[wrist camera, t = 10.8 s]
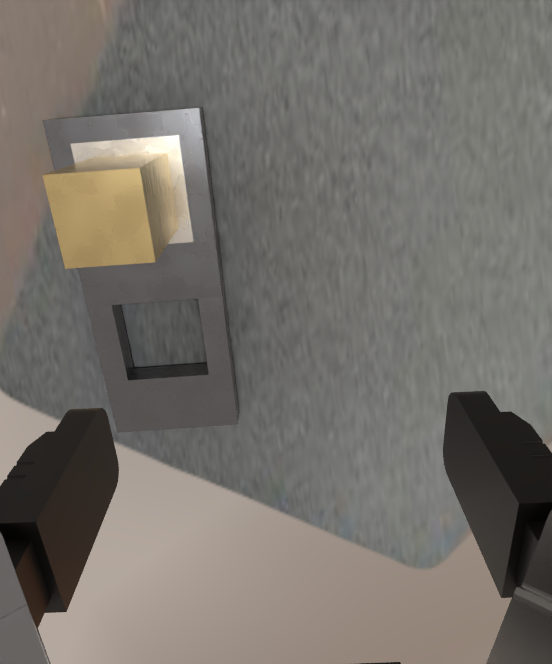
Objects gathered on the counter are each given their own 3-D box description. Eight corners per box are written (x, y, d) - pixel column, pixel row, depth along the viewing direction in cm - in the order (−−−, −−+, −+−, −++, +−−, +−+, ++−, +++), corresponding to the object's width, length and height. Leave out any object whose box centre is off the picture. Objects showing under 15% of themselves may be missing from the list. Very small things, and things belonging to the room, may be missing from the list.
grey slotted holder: (54, 119, 35) (41, 120, 33) (202, 107, 35) (198, 108, 33) (123, 418, 45) (116, 433, 43) (238, 410, 45) (237, 425, 43)
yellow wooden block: (90, 157, 34) (42, 175, 27) (167, 152, 34) (139, 168, 27) (106, 233, 36) (65, 268, 29) (178, 228, 36) (155, 262, 29)
